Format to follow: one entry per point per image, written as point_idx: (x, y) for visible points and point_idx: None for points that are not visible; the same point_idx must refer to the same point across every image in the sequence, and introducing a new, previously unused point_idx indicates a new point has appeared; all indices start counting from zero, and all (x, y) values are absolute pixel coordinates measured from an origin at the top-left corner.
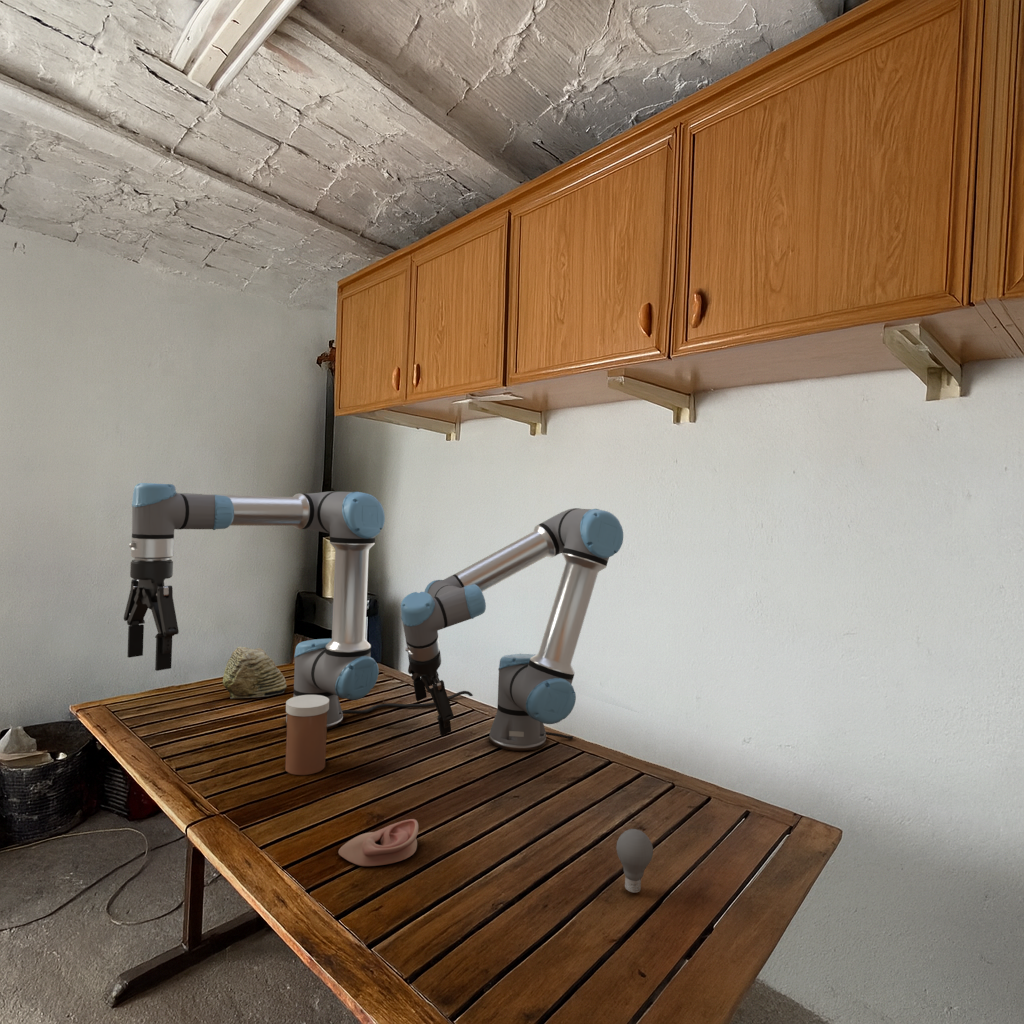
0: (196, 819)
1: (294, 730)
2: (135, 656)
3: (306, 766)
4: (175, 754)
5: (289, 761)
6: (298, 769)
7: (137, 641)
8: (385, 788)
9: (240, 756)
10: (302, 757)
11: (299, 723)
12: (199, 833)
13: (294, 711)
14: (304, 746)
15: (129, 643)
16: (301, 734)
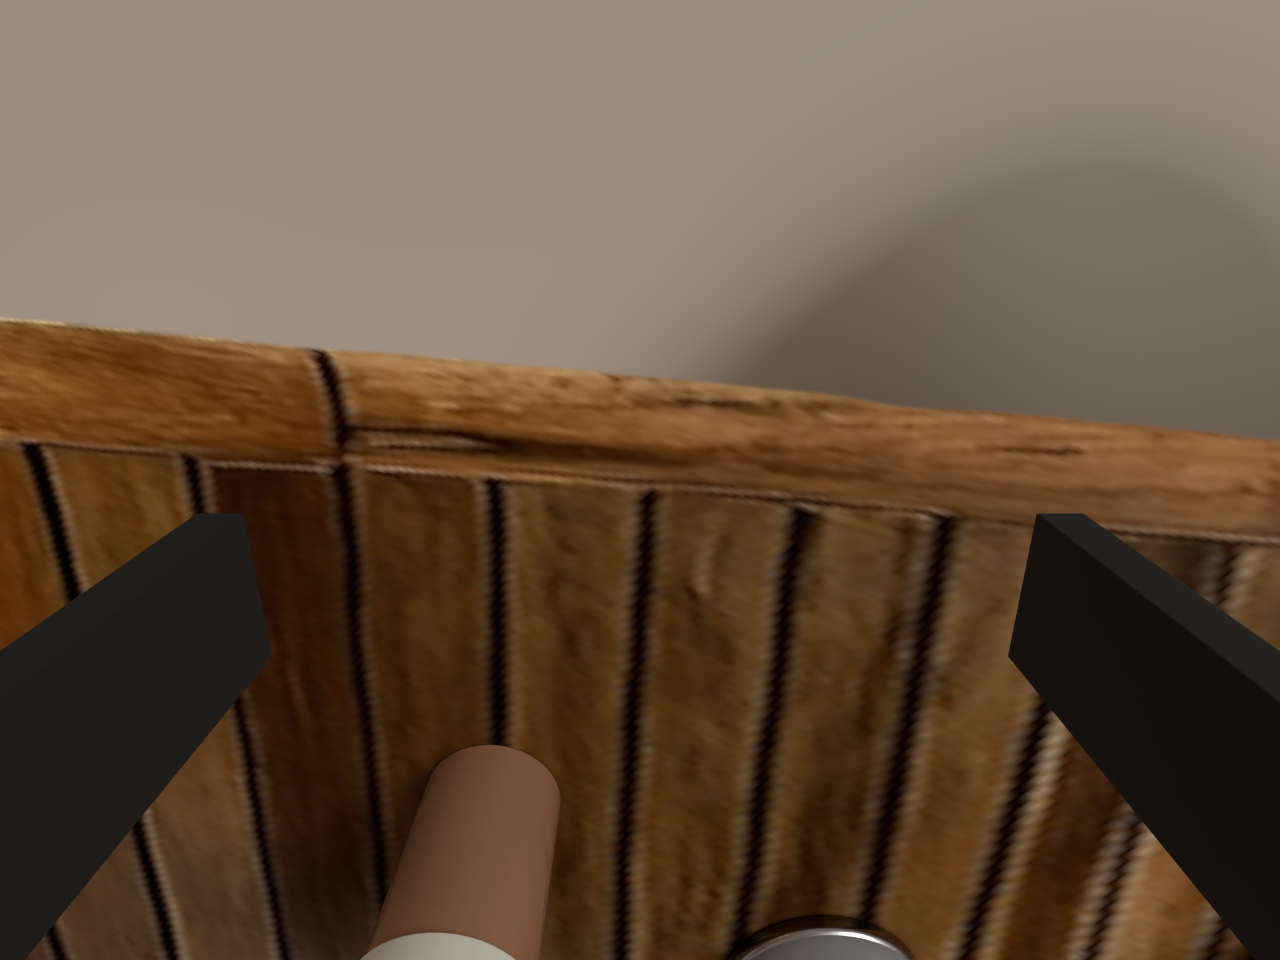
0: (348, 389)
1: (424, 879)
2: (1023, 584)
3: (425, 792)
4: (944, 565)
5: (475, 774)
6: (443, 769)
7: (1138, 720)
8: (187, 863)
9: (737, 707)
10: (423, 808)
11: (394, 916)
12: (241, 353)
13: (393, 956)
14: (407, 845)
15: (1157, 609)
16: (402, 879)
